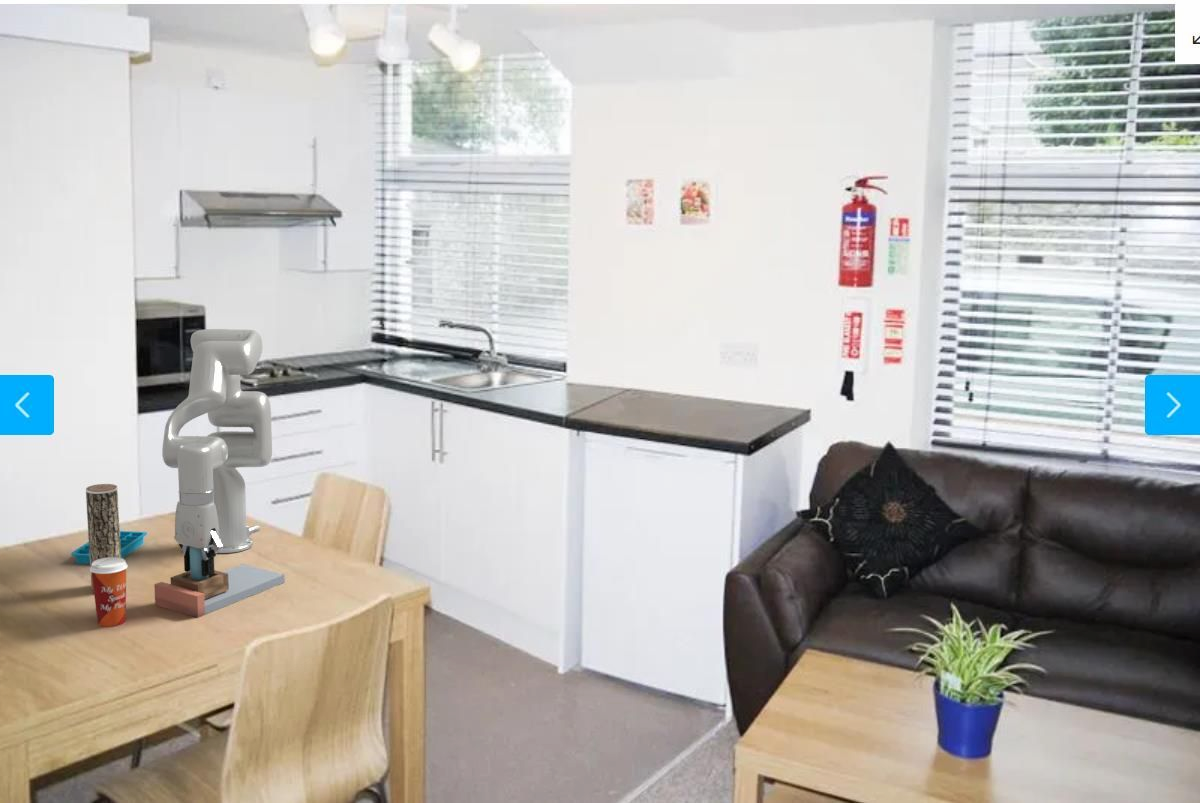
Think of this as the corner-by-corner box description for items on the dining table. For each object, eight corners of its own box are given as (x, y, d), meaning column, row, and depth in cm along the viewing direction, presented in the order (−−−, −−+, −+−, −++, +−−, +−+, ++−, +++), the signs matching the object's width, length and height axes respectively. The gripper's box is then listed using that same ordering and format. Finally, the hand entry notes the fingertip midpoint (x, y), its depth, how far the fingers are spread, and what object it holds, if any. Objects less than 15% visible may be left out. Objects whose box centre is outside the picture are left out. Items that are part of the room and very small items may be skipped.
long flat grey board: (243, 571, 280) (242, 552, 279) (284, 582, 273) (284, 563, 272) (155, 604, 256) (154, 584, 255) (198, 617, 250) (197, 596, 249)
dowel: (200, 583, 261) (199, 534, 259) (212, 586, 259) (211, 537, 257) (186, 588, 258) (185, 538, 256) (199, 591, 256) (197, 541, 254)
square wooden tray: (201, 582, 265) (201, 566, 264) (228, 589, 260) (228, 573, 260) (171, 593, 257) (170, 577, 256) (198, 601, 253) (197, 585, 252)
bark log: (127, 584, 268) (122, 484, 264) (112, 594, 262) (107, 492, 257) (101, 582, 269) (95, 483, 264) (85, 592, 262) (79, 490, 258)
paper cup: (106, 631, 240) (103, 570, 238) (85, 623, 244) (81, 563, 242) (138, 620, 247) (135, 560, 244) (117, 612, 251) (113, 553, 248)
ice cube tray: (149, 542, 300) (148, 532, 300) (114, 567, 281) (113, 556, 280) (107, 540, 301) (106, 530, 300) (69, 565, 281) (68, 554, 280)
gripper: (157, 495, 255) (160, 570, 258) (210, 507, 247) (213, 584, 251) (183, 487, 261) (186, 561, 265) (235, 499, 254) (238, 574, 257)
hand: (199, 571), depth 258 cm, fingers open, 5 cm apart
